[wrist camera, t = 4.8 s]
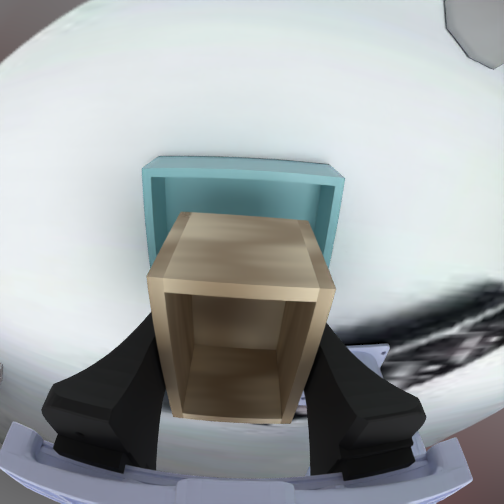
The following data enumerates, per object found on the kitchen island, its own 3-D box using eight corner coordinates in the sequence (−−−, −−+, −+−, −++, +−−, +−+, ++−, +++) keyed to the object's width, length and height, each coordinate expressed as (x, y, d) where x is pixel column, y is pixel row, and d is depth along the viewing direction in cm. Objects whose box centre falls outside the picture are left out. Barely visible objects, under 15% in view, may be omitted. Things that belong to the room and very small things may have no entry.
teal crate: (305, 301, 24) (313, 331, 21) (168, 295, 23) (158, 324, 20) (329, 164, 19) (345, 178, 16) (158, 156, 18) (141, 168, 15)
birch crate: (308, 220, 13) (336, 289, 9) (283, 349, 17) (290, 423, 12) (180, 211, 13) (146, 276, 8) (187, 343, 17) (173, 416, 12)
